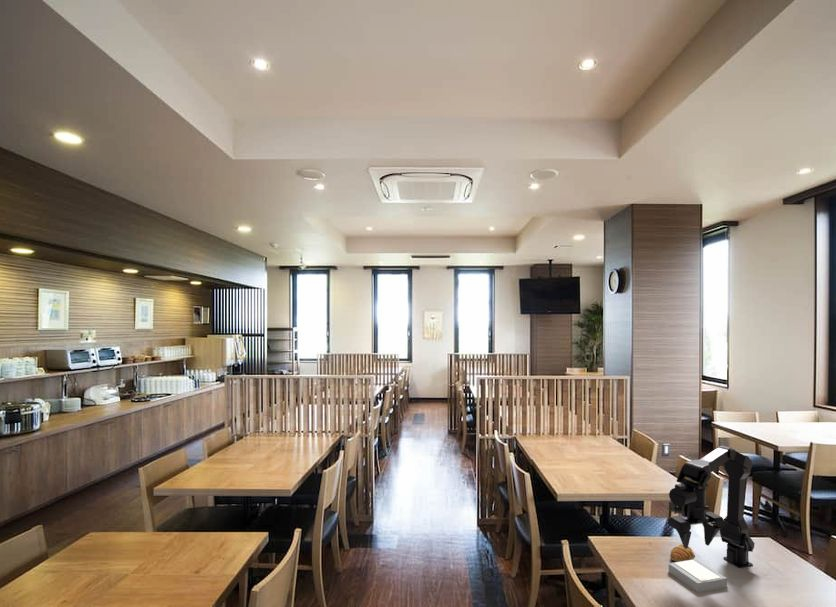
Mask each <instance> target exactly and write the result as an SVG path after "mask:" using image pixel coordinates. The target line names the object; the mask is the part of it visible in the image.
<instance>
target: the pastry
mask: <svg viewBox="0 0 836 607" xmlns="http://www.w3.org/2000/svg"><path fill="white" fill-rule="evenodd" d="M669 557H670V560H672V561H674V562H680V561H686V560H693V559H696V555H695V553H694V551H693V550H692V548H691V547H689V546H688V548H687V549H685V548H684V547H683V544H682V543H681V544H679V545H677V546H674V547H673V548H672V549H671V551H670V554H669Z"/></svg>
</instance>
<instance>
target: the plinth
mask: <svg viewBox="0 0 836 607" xmlns="http://www.w3.org/2000/svg"><path fill="white" fill-rule="evenodd" d="M668 573H670V574H671V575H672V576H674V577H675V578H677V579H678V580H680V582H682V583H684V584H685V585H687V586H688V587H690V588H691V589H692V590H694V591H695V592H697V593H703V592H706V591H707V592H708V591H712V590H713V591H714V590H718V589H724V588H727V587H728V579H727V577H726V576H724V575H722V573H719V572H717V571H716V570H715V569H713V568H711V567H710V566H708V565H706V564H705V563H703V562H702V561H700V560H699V559H697V558H694V559H693V560H686V561H680V562H676V561H674V562H669V563H668Z"/></svg>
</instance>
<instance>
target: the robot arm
mask: <svg viewBox="0 0 836 607" xmlns="http://www.w3.org/2000/svg"><path fill="white" fill-rule="evenodd" d="M721 466H723V469H724V471H725V473H726V474H727V476H728V481H727V503H726V504H727V507H726V509H727V510H726V511H727V512H726V516H725V517H724V518H723V516H721V515H719V514H716V513H714V512H712V511H708V510H709V509H710V506H709V505H706V504H707V503H706V497H707V496H706V494H707V493H706V488H709V486H710V485H709V484H708V482H709V480H710V479H711V478H712V473H713V472H714V471H715V470H716V469H718V468H719V467H721ZM752 468H753V461H752V459H750V457H749V456H748V455H744V454H743V453H740V452H738V451H736V450H735V449H733V447H729V446H724V445H717V446H716V448H715V449H714V450H712V451H711V452H709V453H708V454H706V455H705V456H703V457H701V458H700V459H690V460H689V461H686V462H685V463H684V464H682V467H681V468H680V471H679V474H678V476H677V479H676V482H677V483H676V484H674V487H673V488H671V489H670V490H669V492H668V496H669V500H670V501H669V502H668V509H669V511H670V512H673V514H675V515H676V514H680V515H681V516H682V517H683V518H682V517H681V516H679V515H676V516H675V515H674V516H673V515H672V516H669V517H668V518H667V525H668V526H669V527H671V528H673V529H674V530H676V532H677V534H678V536H679V539H680V542H681V544H682V545H683V547H684V548H685V549H687V548H688V547H689V545H690V540H691V536H692V531H691V529H692V528H691V527H692V526H696V525H702V528H703V534H704V544H705V545H706V546H707V547H708V546H710V544H711V543H712V541H713V540H714V538H715V536H717V534H718V533H719V534H720V539H721V541H722V542H723V543H726V556H723V559H724V560H725V561H727V562H728V563H731V565H734V566H735V567H737V568H740V569H741V568H747V567H753V566H754V565H753V563H752V562H750V561H749V552H750V553H752V552H753V551H754V549H755V542H754V540H753V539H752V538H751V536H750V535H749V527H748V526H747V524H746V522H745V520H744V512H745V511H744V509H745V508H744V507H745V487H746V486H745V484H746V483H745V482H746V479H747V478H748V476H749V475H750V474H751V472H752Z"/></svg>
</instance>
